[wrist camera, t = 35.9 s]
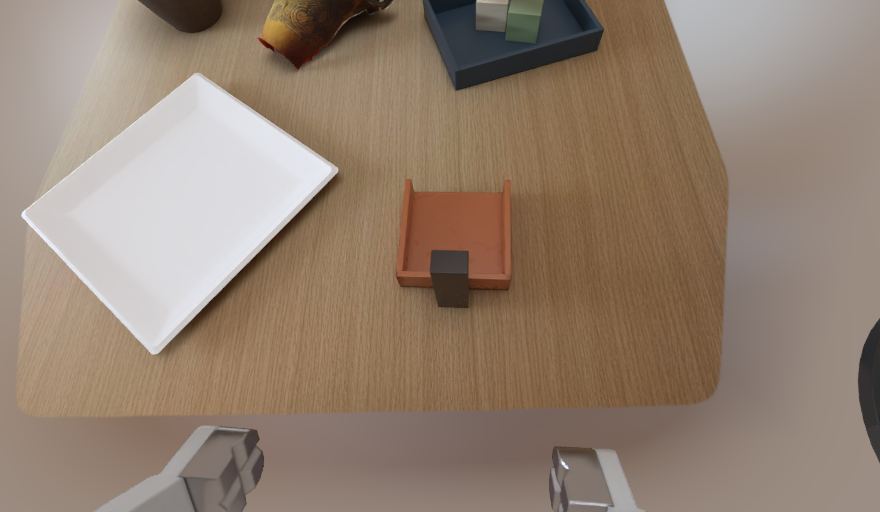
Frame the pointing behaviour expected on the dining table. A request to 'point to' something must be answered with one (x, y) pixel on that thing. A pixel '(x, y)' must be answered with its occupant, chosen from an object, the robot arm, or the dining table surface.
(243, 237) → the plate
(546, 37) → the tray
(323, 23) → the pot
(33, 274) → the dining table surface
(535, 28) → the sage block
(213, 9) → the plant pot
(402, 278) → the pan
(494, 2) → the cream block
